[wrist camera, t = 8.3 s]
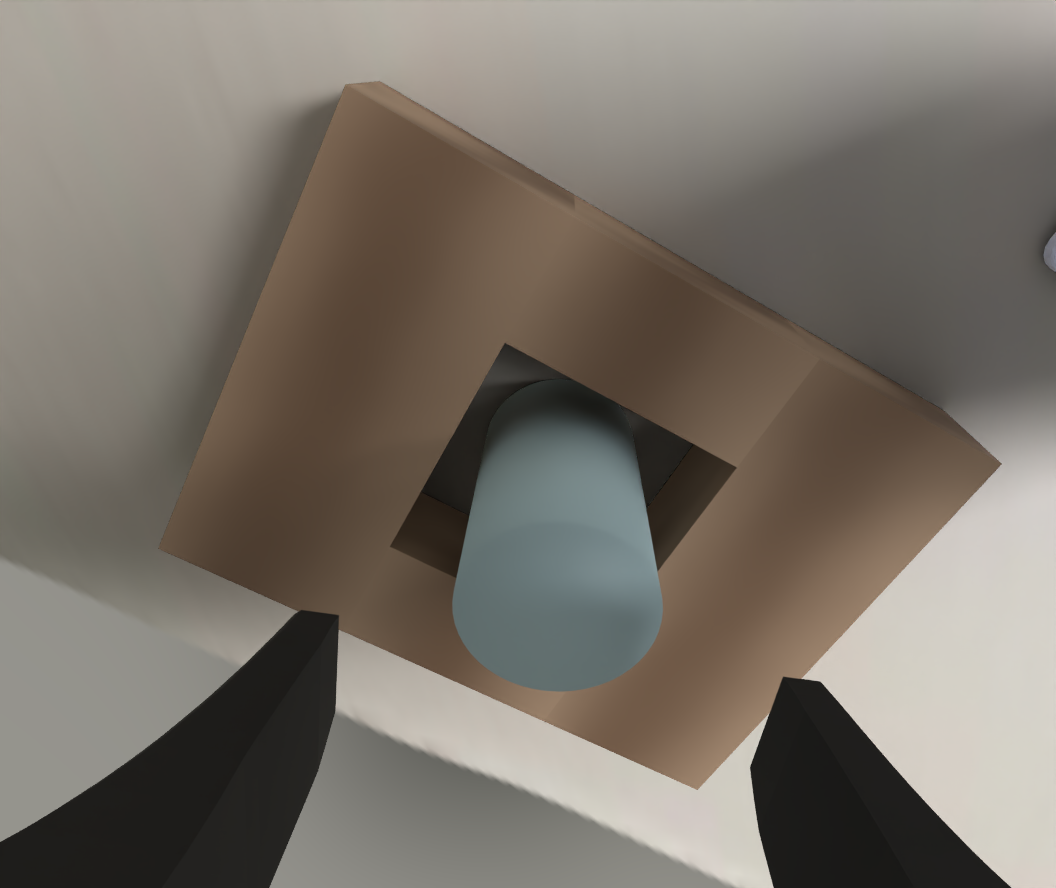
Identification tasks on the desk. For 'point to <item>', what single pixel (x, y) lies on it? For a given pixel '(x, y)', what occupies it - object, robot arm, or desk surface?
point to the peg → (558, 544)
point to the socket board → (596, 362)
